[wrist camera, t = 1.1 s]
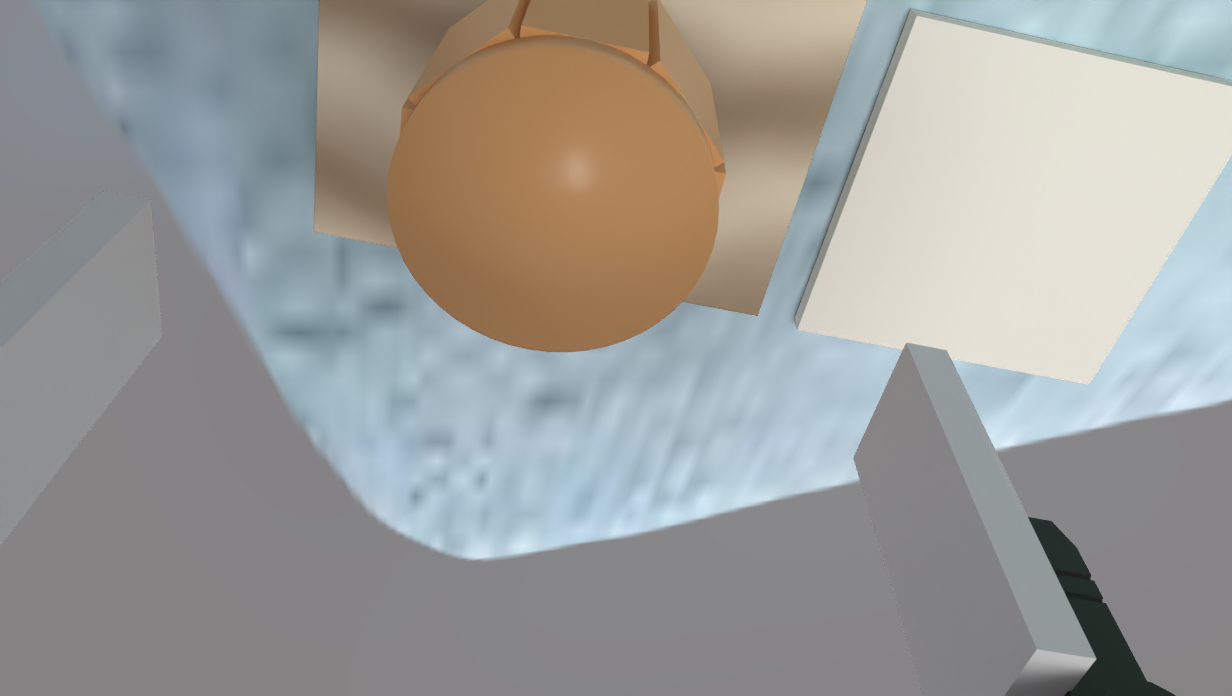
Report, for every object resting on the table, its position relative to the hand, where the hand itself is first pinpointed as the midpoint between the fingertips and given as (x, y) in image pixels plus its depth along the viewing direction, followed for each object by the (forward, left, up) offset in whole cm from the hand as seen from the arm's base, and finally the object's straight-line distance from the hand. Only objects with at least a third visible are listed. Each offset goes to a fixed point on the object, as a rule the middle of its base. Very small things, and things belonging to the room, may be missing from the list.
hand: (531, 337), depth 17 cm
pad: (+3, +16, -17) cm, 24 cm away
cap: (0, 0, -10) cm, 10 cm away
